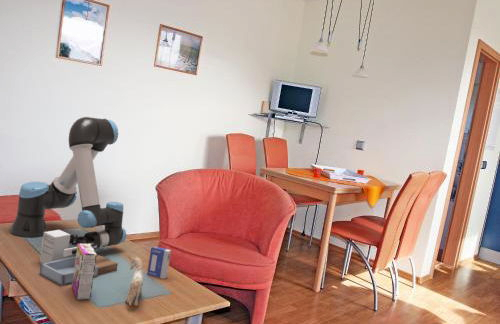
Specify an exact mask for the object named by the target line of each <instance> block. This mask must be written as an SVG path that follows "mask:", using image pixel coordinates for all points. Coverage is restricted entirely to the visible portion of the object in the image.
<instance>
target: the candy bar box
mask: <svg viewBox="0 0 500 324" xmlns="http://www.w3.org/2000/svg"><path fill="white" fill-rule="evenodd" d="M76 247H77V252H76V254H75V257H76V260H75V268H74V275H73V282H72V283H71V288H72V290H73V293H74V296H75V298H76V300H80V301H81V300H91V298H92V291H93V283H94V278H95V277H94V270H95V263H96V256H97V255H98V254H97V252H96V249H95V250H94V248H93V247H92V245H91V244H82V243H80V244H77V245H76Z"/></svg>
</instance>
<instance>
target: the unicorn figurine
mask: <svg viewBox="0 0 500 324" xmlns="http://www.w3.org/2000/svg"><path fill="white" fill-rule="evenodd" d="M124 255H125V256H126V257H127V258H128V259H129V260H130V261H131V263H130V265H129V268H128V269H129V270H133V269H134V268H135V270H134V273H133V275H132V276H131V277H132V278H131V280H130V282H129V285H128V287H129V288H128V291H127V295H126V297H125V302H126V304H129V306H131V305H132V303H133V305H134V306H135V307H136V306H138V299H139V297H141V296H142V292H143V286H144V281H145V276H144V273H145V271H144V264H143V261H142V259H141V258H140V257H138V256H135V257H134V256H132V257H131V256H130V255H128V253H125V252H124ZM134 298H135V300H134ZM133 301H134V302H133Z"/></svg>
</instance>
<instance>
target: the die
mask: <svg viewBox="0 0 500 324" xmlns="http://www.w3.org/2000/svg"><path fill="white" fill-rule="evenodd" d="M94 230H95V231H98V230H105V225H102V226H96V227H95V229H94Z"/></svg>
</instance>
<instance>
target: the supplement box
mask: <svg viewBox="0 0 500 324" xmlns="http://www.w3.org/2000/svg"><path fill="white" fill-rule="evenodd" d="M70 235H71V234H70V233H68V232H65V231H63V230H61V229H55V230H48V231H46V232H44V235H43V236H42V239H43V242H42V241H41V244H42V246H41V251H40V258H39V259H40V260H39V262H40V264H42V263H47V262H52V261H57V260H61V259H66V258H69V256H65V257H64V256H63V253H64V249H69V248H70V244H69V242H70Z"/></svg>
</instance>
